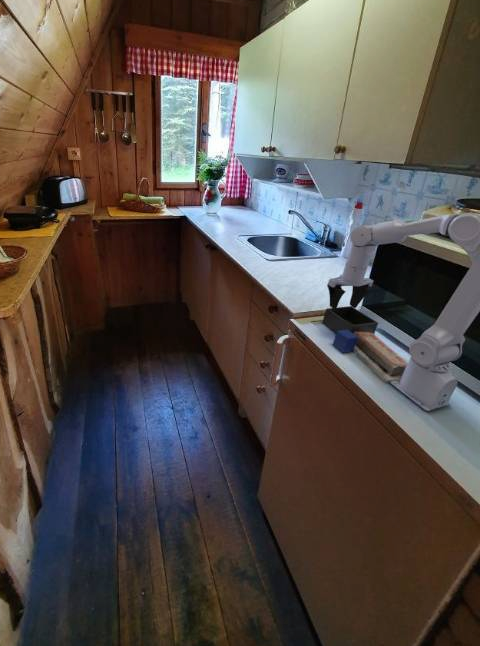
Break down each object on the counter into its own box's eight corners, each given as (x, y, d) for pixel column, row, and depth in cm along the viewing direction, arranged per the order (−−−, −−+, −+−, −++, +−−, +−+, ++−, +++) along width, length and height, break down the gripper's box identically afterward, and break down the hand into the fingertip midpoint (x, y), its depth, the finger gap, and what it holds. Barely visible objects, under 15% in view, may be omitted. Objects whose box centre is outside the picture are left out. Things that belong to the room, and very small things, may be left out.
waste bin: (372, 337, 98) (378, 322, 96) (347, 341, 94) (352, 326, 92) (346, 319, 108) (351, 305, 106) (322, 322, 104) (326, 308, 102)
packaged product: (347, 329, 93) (376, 329, 94) (342, 342, 94) (370, 342, 96) (391, 369, 76) (425, 369, 78) (384, 385, 78) (417, 384, 80)
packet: (352, 351, 90) (358, 337, 88) (342, 353, 88) (347, 338, 86) (342, 343, 93) (347, 329, 91) (332, 345, 92) (337, 330, 90)
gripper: (365, 261, 95) (352, 300, 100) (326, 260, 91) (314, 301, 96) (384, 269, 89) (369, 310, 94) (343, 269, 84) (329, 312, 90)
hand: (342, 306), depth 94 cm, fingers open, 7 cm apart
